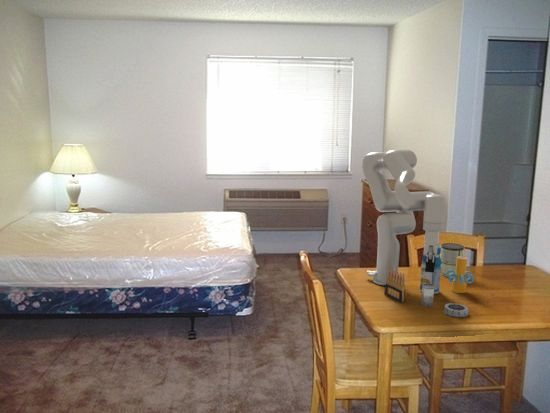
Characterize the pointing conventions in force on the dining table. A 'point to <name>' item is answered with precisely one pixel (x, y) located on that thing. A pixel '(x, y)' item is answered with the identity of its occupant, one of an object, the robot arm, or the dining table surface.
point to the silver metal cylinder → (427, 295)
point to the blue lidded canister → (432, 276)
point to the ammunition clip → (395, 286)
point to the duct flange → (456, 310)
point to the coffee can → (450, 257)
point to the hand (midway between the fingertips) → (430, 268)
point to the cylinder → (460, 276)
